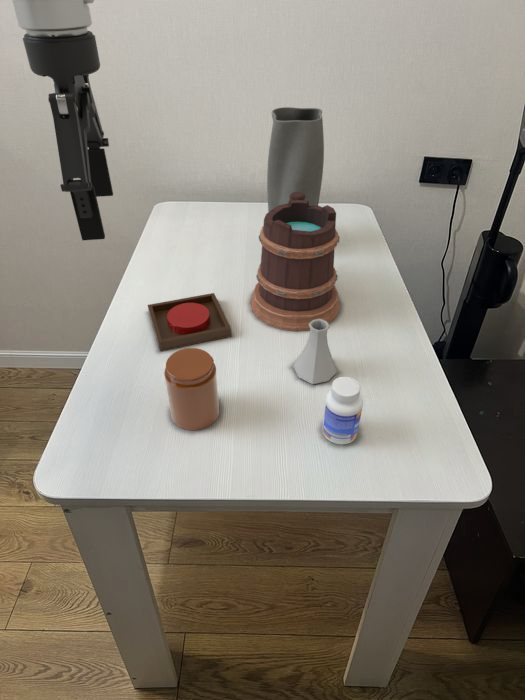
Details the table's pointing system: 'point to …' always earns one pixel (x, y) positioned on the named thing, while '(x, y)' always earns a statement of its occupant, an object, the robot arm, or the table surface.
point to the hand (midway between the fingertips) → (99, 215)
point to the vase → (295, 155)
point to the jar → (192, 388)
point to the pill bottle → (342, 411)
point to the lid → (188, 318)
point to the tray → (174, 340)
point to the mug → (297, 266)
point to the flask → (316, 355)
